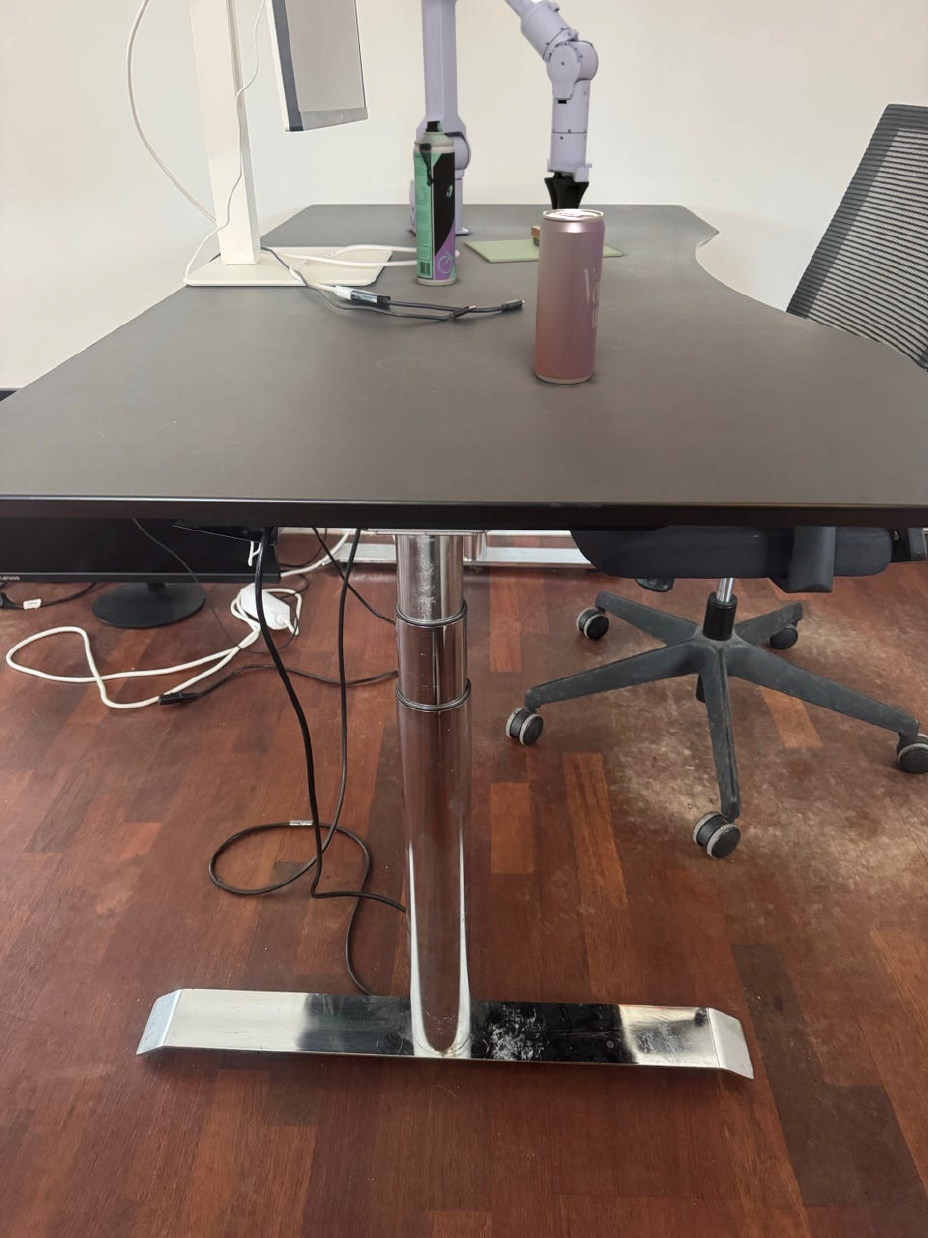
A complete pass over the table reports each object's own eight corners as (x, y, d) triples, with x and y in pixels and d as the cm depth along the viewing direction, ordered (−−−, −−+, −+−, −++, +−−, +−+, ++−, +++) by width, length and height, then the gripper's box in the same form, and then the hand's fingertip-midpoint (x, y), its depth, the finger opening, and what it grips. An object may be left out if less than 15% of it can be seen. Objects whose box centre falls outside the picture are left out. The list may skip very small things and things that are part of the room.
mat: (490, 262, 136) (490, 259, 135) (465, 244, 149) (465, 241, 149) (622, 255, 140) (622, 253, 140) (586, 238, 153) (587, 236, 153)
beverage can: (555, 363, 91) (564, 206, 83) (604, 374, 88) (618, 212, 80) (521, 377, 87) (527, 213, 79) (571, 389, 84) (583, 220, 76)
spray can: (455, 285, 122) (454, 121, 111) (416, 285, 122) (411, 121, 111) (456, 277, 127) (455, 118, 116) (418, 277, 127) (414, 118, 116)
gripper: (610, 134, 133) (602, 231, 140) (577, 128, 144) (572, 217, 152) (566, 135, 131) (560, 233, 139) (536, 129, 143) (533, 219, 150)
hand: (563, 225), depth 145 cm, fingers closed on brush, 2 cm apart
